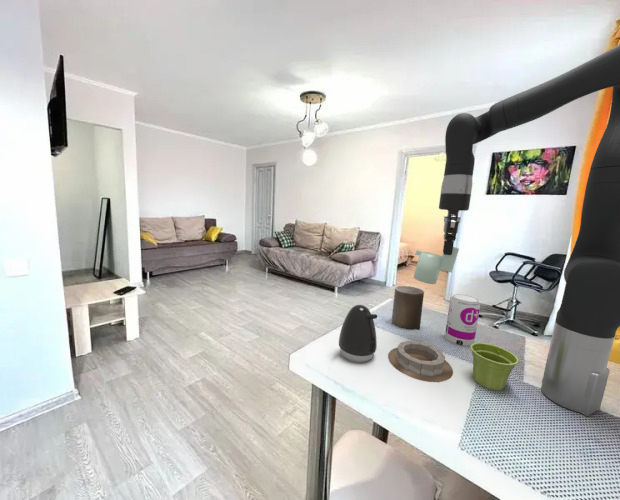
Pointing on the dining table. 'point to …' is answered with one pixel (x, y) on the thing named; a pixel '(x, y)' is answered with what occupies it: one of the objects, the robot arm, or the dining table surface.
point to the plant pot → (492, 365)
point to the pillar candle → (407, 307)
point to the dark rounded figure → (358, 335)
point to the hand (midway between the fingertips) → (447, 253)
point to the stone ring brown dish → (420, 361)
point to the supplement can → (462, 319)
